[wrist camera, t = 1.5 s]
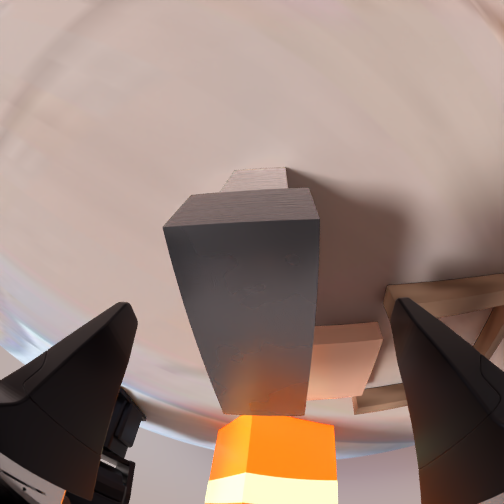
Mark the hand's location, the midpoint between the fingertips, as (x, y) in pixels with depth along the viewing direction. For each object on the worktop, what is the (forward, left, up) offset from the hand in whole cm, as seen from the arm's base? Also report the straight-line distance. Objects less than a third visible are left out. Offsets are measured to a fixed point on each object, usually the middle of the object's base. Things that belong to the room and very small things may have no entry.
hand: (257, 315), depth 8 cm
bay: (+11, -8, -4) cm, 14 cm away
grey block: (0, 0, -4) cm, 4 cm away
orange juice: (0, -20, -4) cm, 21 cm away
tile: (+3, -8, -5) cm, 10 cm away
